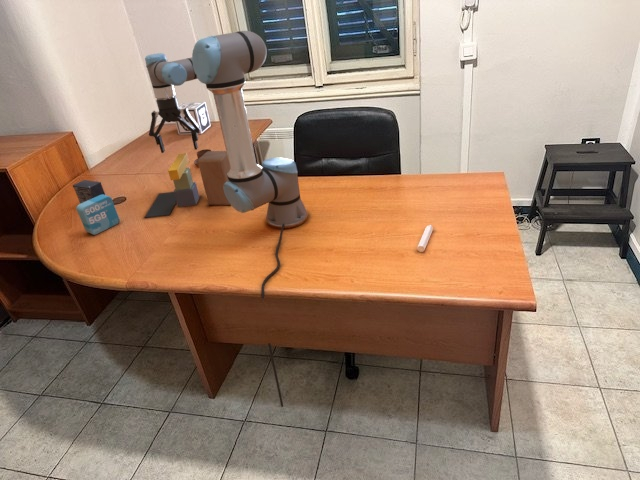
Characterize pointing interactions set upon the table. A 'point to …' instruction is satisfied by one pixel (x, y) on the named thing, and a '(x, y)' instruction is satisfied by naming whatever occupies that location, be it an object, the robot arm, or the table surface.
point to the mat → (162, 205)
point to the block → (214, 176)
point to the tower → (186, 190)
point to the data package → (98, 214)
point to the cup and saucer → (199, 154)
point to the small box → (88, 190)
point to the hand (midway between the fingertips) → (179, 150)
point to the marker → (425, 238)
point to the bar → (178, 166)
